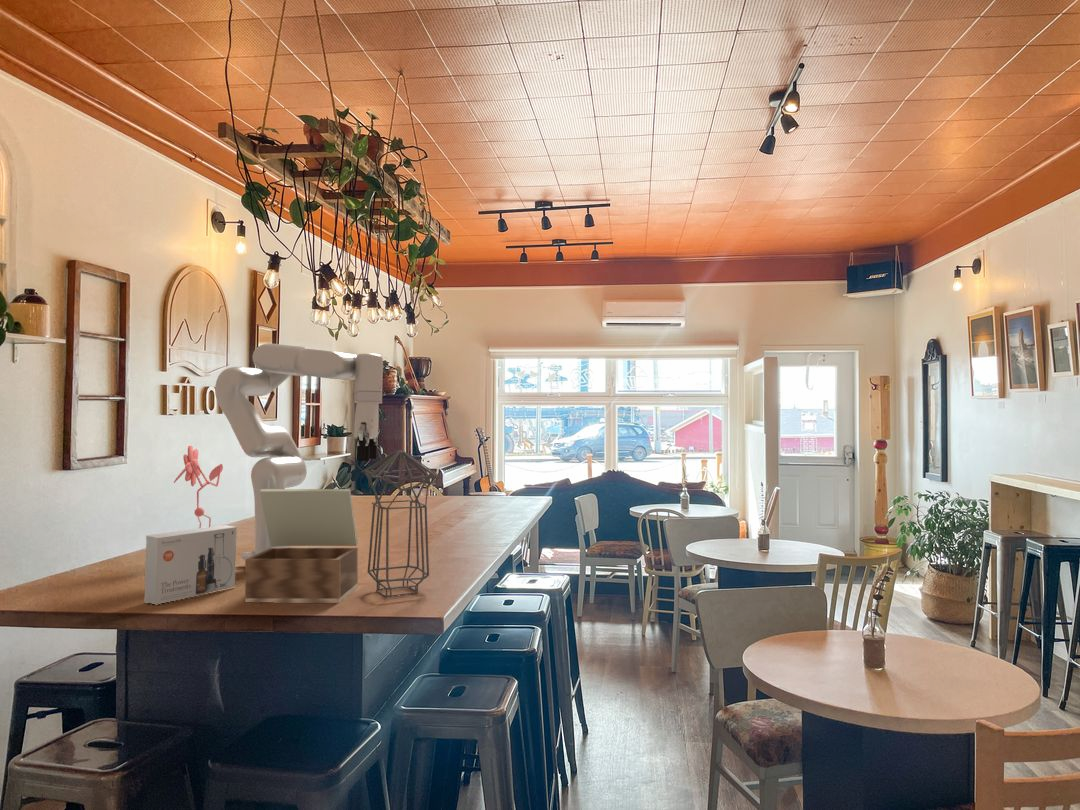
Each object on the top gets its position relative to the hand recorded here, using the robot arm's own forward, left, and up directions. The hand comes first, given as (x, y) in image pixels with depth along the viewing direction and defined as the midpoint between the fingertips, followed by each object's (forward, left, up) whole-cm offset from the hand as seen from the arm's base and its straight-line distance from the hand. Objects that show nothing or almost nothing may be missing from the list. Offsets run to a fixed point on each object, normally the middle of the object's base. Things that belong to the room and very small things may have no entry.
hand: (366, 459), depth 206 cm
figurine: (-58, +17, -32) cm, 68 cm away
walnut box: (-9, -25, -31) cm, 41 cm away
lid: (-9, -21, -13) cm, 27 cm away
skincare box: (-36, -26, -32) cm, 54 cm away
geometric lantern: (+14, -23, -32) cm, 41 cm away
